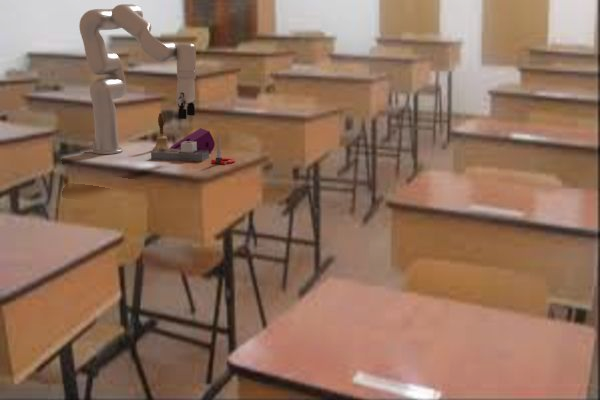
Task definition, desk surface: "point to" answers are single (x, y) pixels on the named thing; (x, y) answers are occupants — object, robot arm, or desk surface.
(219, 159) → the red scissors
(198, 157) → the grey tray
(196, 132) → the mounting bracket
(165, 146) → the hand bell
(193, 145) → the white cylinder
